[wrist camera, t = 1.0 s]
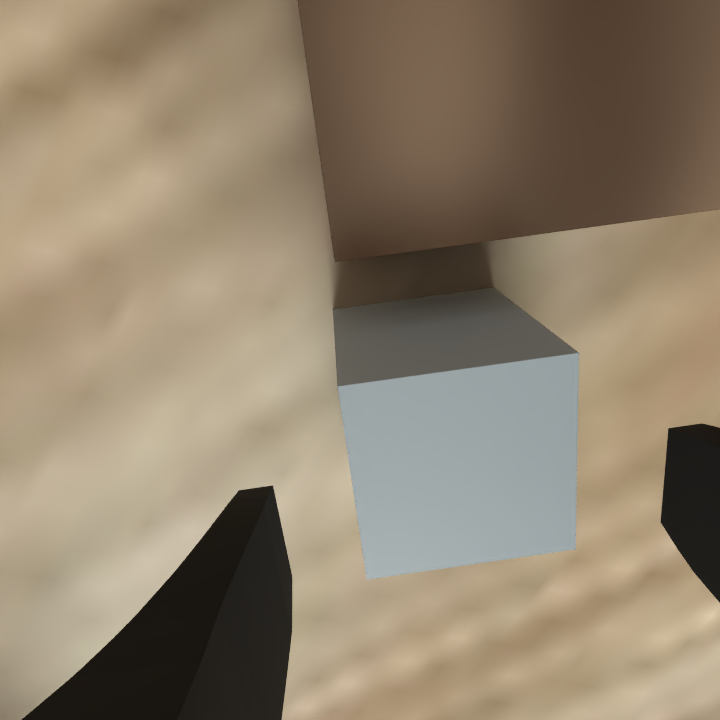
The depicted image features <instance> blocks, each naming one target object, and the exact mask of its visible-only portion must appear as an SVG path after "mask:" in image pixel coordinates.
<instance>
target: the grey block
mask: <svg viewBox="0 0 720 720" xmlns="http://www.w3.org/2000/svg"><path fill="white" fill-rule="evenodd" d="M333 318H334V334H335V351H336V368H337V385H338V393H339V399H340V406H341V412H342V419H343V426H344V432H345V439H346V445H347V452H348V458H349V465H350V472H351V478H352V485H353V491H354V498H355V505H356V511H357V518H358V524H359V531H360V538H361V544H362V551H363V557H364V564H365V571H366V577H367V579H374V578H381V577H388V576H395V575H402V574H409V573H415V572H422V571H429V570H436V569H443V568H450V567H457V566H464V565H471V564H478V563H485V562H491V561H498V560H505V559H512V558H519V557H526V556H533V555H540V554H547V553H554V552H561V551H568V550H574V549H575V548H576V491H577V434H578V377H579V353H578V352H577V351H576V350H575V349H573V348H572V347H571V346H569V345H568V344H567V343H565V342H564V341H563V340H561V339H560V338H559V337H558V336H556V335H555V334H554V333H552V332H551V331H550V330H548V329H547V328H546V327H545V326H543V325H542V324H541V323H539V322H538V321H537V320H535V319H534V318H533V317H531V316H530V315H529V314H528V313H526V312H525V311H524V310H522V309H521V308H520V307H518V306H517V305H516V304H514V303H513V302H512V301H511V300H509V299H508V298H507V297H505V296H504V295H503V294H501V293H500V292H499V291H498V290H496V289H495V288H494V287H493V288H485V289H478V290H471V291H463V292H456V293H449V294H442V295H434V296H427V297H420V298H412V299H405V300H398V301H391V302H383V303H376V304H369V305H362V306H354V307H347V308H340V309H333Z"/></svg>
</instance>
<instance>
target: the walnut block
mask: <svg viewBox="0 0 720 720" xmlns="http://www.w3.org/2000/svg"><path fill="white" fill-rule="evenodd" d="M298 6H299V13H300V20H301V27H302V34H303V41H304V48H305V55H306V62H307V69H308V76H309V83H310V90H311V97H312V104H313V111H314V118H315V126H316V133H317V140H318V147H319V154H320V161H321V168H322V175H323V182H324V189H325V196H326V203H327V210H328V217H329V224H330V231H331V238H332V245H333V252H334V259H335V262H339V261H347V260H354V259H361V258H369V257H376V256H383V255H390V254H398V253H405V252H412V251H420V250H427V249H434V248H442V247H449V246H456V245H463V244H471V243H478V242H485V241H493V240H500V239H507V238H514V237H522V236H529V235H536V234H544V233H551V232H558V231H566V230H573V229H580V228H587V227H595V226H602V225H609V224H617V223H624V222H631V221H638V220H646V219H653V218H660V217H668V216H675V215H682V214H689V213H697V212H704V211H711V210H719V209H720V0H298Z"/></svg>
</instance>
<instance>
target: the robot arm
mask: <svg viewBox="0 0 720 720" xmlns="http://www.w3.org/2000/svg"><path fill="white" fill-rule="evenodd" d="M661 523H662V525H663V527H664V528H665V530H666V531H667V533H668V534H669V536H670V538H671V539H672V541H673V542H674V544H675V545H676V547H677V549H678V550H679V551H680V553H681V554H682V556H683V557H684V559H685V560H686V562H687V563H688V564H689V566H690V567H691V569H692V570H693V572H694V573H695V574H696V575H697V576H698V578H699V579H700V580H701V581H702V582H703V584H704V585H705V586H706V587H707V588H708V589H709V590H710V592H711V593H712V594H713V595H714V596H715V597H716V599H717V600H718V601H719V602H720V428H718V427H714V426H710V425H706V424H696V425H689V426H682V427H675V428H669V429H668V441H667V453H666V465H665V477H664V489H663V501H662V513H661ZM291 635H292V574H291V569H290V564H289V560H288V555H287V550H286V546H285V541H284V536H283V531H282V527H281V522H280V517H279V513H278V508H277V503H276V498H275V494H274V489H273V486H267V487H260V488H253V489H246V490H239V491H238V492H237V494H236V495H235V496H234V497H233V499H232V500H231V501H230V502H229V504H228V505H227V506H226V507H225V509H224V510H223V511H222V513H221V514H220V515H219V517H218V518H217V519H216V520H215V522H214V523H213V524H212V526H211V527H210V528H209V530H208V531H207V532H206V533H205V535H204V536H203V537H202V539H201V540H200V541H199V542H198V544H197V545H196V546H195V547H194V549H193V550H192V551H191V552H190V554H189V555H188V556H187V557H186V559H185V560H184V561H183V562H182V563H181V565H180V566H179V567H178V568H177V570H176V571H175V572H174V573H173V574H172V575H171V577H170V578H169V579H168V580H167V581H166V582H165V583H164V584H163V586H162V587H161V588H160V589H159V590H158V591H157V592H156V593H155V595H154V596H153V597H152V598H151V599H150V600H149V601H148V602H147V604H146V605H145V606H144V607H143V608H142V609H141V610H140V611H139V613H138V614H137V615H136V616H135V617H134V618H133V619H132V620H131V621H130V622H129V623H128V624H127V625H126V626H125V627H124V628H123V629H122V630H121V631H120V632H119V633H118V634H117V635H116V636H115V637H114V638H113V639H112V640H111V641H110V642H109V643H108V644H107V645H106V646H105V647H104V648H103V649H102V650H100V651H99V652H98V653H97V654H96V655H95V656H94V657H93V658H92V659H91V660H90V661H89V662H88V663H87V664H86V665H85V666H84V667H83V668H81V669H80V670H79V671H78V672H77V673H76V674H75V675H74V676H73V677H72V678H70V679H69V680H68V681H67V682H66V683H65V684H63V685H62V686H61V687H60V688H59V689H57V690H56V691H55V692H54V693H53V694H52V695H50V696H49V697H48V698H47V699H46V700H44V701H43V702H42V703H41V704H40V705H39V706H37V707H36V708H35V709H34V710H33V711H31V712H30V713H29V714H28V715H27V716H25V717H24V718H23V719H22V720H281V719H282V711H283V702H284V694H285V686H286V678H287V669H288V661H289V652H290V644H291Z"/></svg>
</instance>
